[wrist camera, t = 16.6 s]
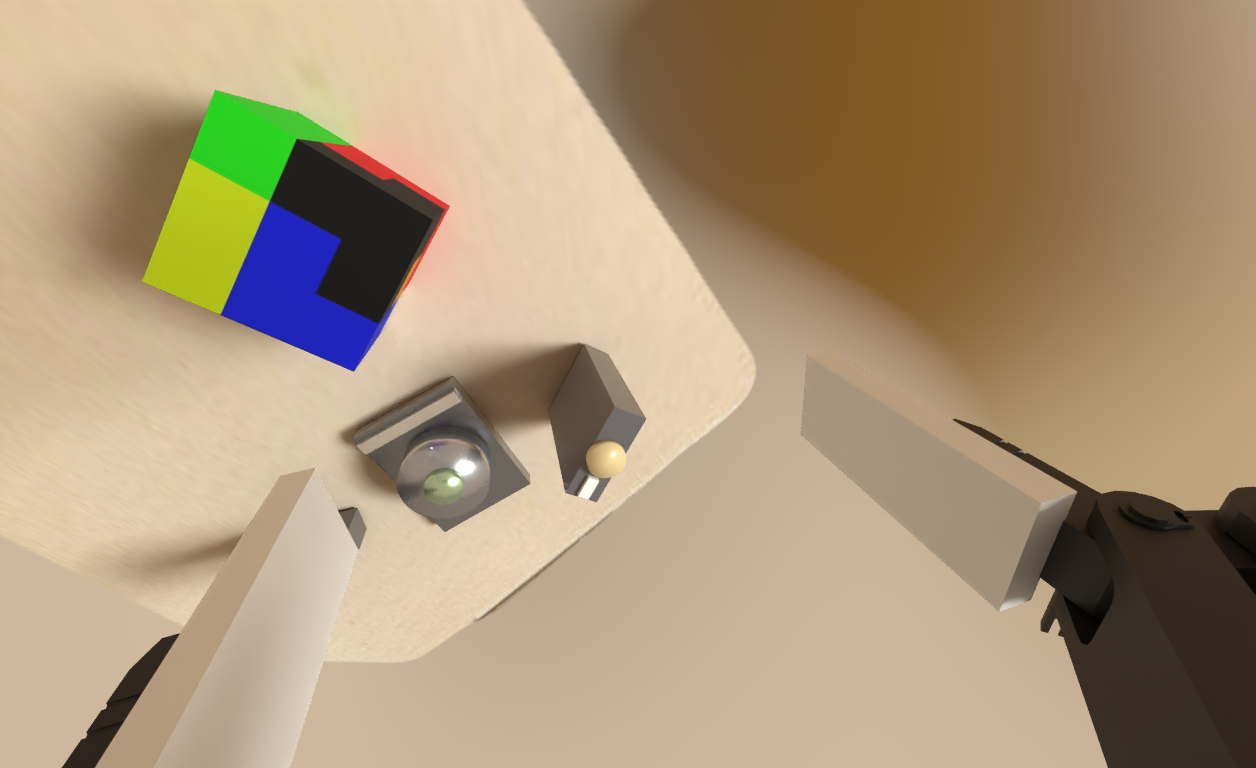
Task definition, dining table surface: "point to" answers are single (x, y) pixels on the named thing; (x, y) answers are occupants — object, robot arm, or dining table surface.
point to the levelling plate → (457, 417)
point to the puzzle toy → (292, 231)
